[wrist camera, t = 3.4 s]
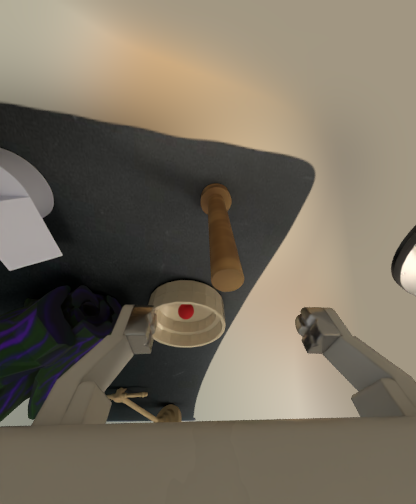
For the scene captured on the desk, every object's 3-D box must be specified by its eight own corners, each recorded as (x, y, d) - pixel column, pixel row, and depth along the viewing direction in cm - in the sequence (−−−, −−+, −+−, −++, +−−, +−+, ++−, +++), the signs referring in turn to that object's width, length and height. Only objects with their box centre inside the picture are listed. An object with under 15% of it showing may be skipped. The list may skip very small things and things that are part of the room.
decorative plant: (138, 278, 46) (52, 341, 48) (5, 222, 25) (-134, 339, 27) (161, 362, 34) (46, 440, 37) (-55, 390, 13) (-292, 570, 15)
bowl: (227, 279, 34) (230, 303, 29) (218, 324, 43) (220, 347, 38) (145, 276, 33) (136, 300, 28) (154, 323, 42) (148, 346, 37)
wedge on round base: (76, 242, 28) (31, 148, 20) (46, 271, 23) (-31, 158, 15) (17, 241, 28) (-52, 144, 20) (-28, 270, 22) (-146, 153, 15)
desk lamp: (183, 446, 66) (103, 396, 52) (114, 471, 73) (26, 432, 59) (186, 400, 80) (123, 350, 65) (128, 424, 87) (59, 383, 72)
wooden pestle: (231, 184, 23) (264, 258, 11) (227, 212, 26) (250, 300, 13) (201, 182, 23) (198, 256, 11) (200, 211, 25) (196, 299, 13)
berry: (194, 299, 36) (193, 313, 34) (194, 309, 38) (193, 322, 35) (178, 299, 36) (176, 312, 33) (179, 308, 38) (177, 322, 35)
